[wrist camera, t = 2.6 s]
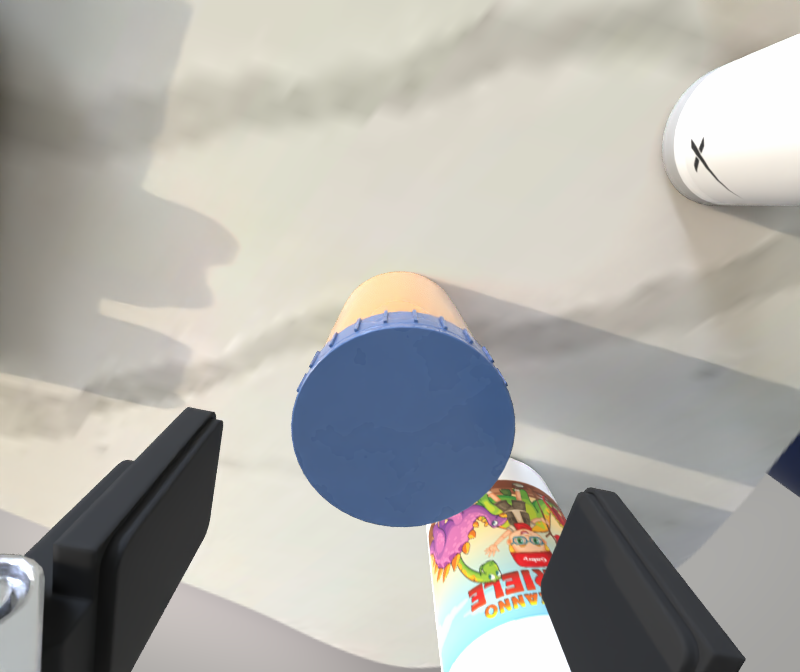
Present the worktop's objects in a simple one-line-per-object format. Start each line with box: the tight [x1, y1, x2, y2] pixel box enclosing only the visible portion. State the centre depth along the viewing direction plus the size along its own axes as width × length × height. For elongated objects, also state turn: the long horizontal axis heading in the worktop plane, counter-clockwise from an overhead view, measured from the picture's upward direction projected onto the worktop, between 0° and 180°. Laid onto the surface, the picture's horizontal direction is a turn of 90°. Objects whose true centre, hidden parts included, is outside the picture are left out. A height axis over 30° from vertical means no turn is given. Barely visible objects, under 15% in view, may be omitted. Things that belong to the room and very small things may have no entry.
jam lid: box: [291, 310, 515, 527], centre depth 14 cm, size 7×7×2 cm
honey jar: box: [323, 272, 475, 348], centre depth 19 cm, size 7×7×11 cm
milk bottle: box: [426, 458, 571, 672], centre depth 18 cm, size 8×8×20 cm
